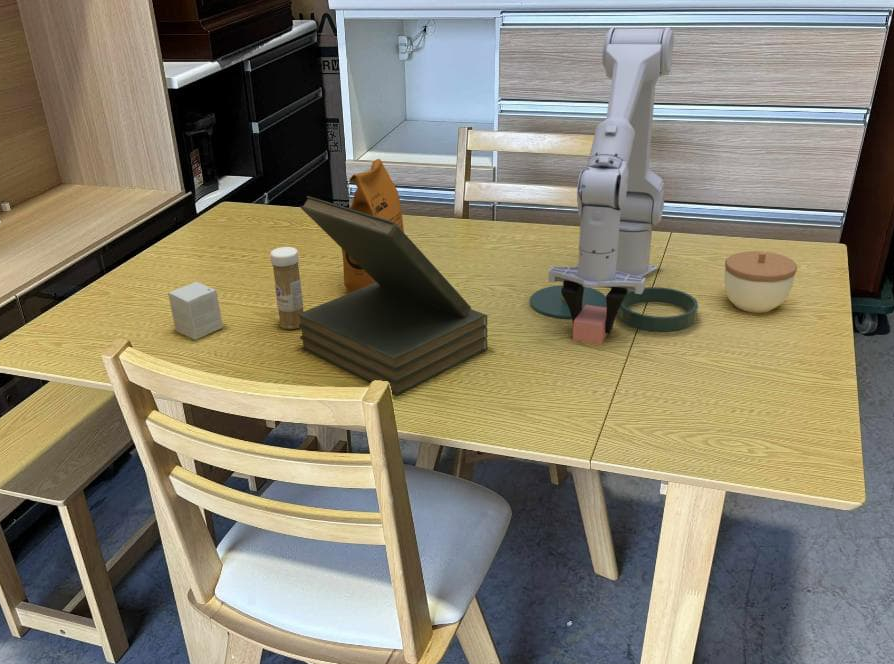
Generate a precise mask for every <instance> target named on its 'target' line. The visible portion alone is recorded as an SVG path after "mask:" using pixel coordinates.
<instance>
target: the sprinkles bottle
mask: <svg viewBox="0 0 894 664" xmlns="http://www.w3.org/2000/svg"><path fill="white" fill-rule="evenodd" d="M299 260H300V258H299V251H298V249H296V248H295V247H291V246H281V247H277V248H274V249H273V250H271V251H270V263H271V266H272V268H273V269H272V270H273V277H274V278H273V279H274V289H275V294H276V295H275V296H276V305H277V309H278V310H277V311H278V318H279V322H278V323H279V327H281V328H282V329H284V330H296V329H297V330H298V329H300V328H299V324H301V321H300V317H299V316H298V314H299V313H302V312H304V300H303V291H302V282H301V275H300V267H299Z"/></svg>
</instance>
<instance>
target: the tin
mask: <svg viewBox="0 0 894 664" xmlns="http://www.w3.org/2000/svg"><path fill="white" fill-rule="evenodd" d="M641 303H643V304H644V303H662V304H663V303H664V304H671V305H674V306H677V307H680V308H682V309H684V310H686V311H687V312H685V313H681V314H678V315H670V316H655V315H648V314H643V313H639V312H636V311H634V310H631V309H630V308H628V307H630V306H634V305H636V304H641ZM698 310H699V304H698V300H697V299H696V298H695V297H694V296H693V295H690V294H688V293H687V292H685V291H681V290H678V289H674V288H669V287H661V286H648V287H647V286H646V287H645V289H644V291H643V293H642V294H635V292H633V291H628V293H627V294H626V296H625V298H624V300H623V302H622V303H621V305H620V308H619V310H618V312H617V318H619V320H620V321H621V323H623V324H625V325H627V326H628V327H630V328H633V329H636V330H639V331H644V332H651V333H672V332H679V331H682V330H685V329H688V328H690V327H692V326H693V325H694V324H695V323H696V320H697V318H698Z"/></svg>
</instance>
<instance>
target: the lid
mask: <svg viewBox="0 0 894 664" xmlns="http://www.w3.org/2000/svg"><path fill="white" fill-rule="evenodd" d="M563 285H564V282H562V284H561V285H559V284H558V285H552V286H547V287H543V288H540V289H538V290H536V291H535V292H534V293H532V295H531V296H530V299H529V304H530V306H531V308H532V309H533V310H534V311H536V312H537V313H539V314H541V315H543V316H547V317H550V318H555V319H563V320H564V319H566V320H572V317H571V313H570V310H569V307H568V305H567V303H566V301H565V299H564V297H563V295H562V293H561V289H562V288H563ZM585 305H591V306H598V307H605V308H607V305H606V295H605V293H603V292H602V291H599V290H597V289H596V288H586V287H584V292H583V300H582V309H583V308H584V306H585Z"/></svg>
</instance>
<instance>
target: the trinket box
mask: <svg viewBox="0 0 894 664" xmlns="http://www.w3.org/2000/svg"><path fill="white" fill-rule="evenodd" d="M724 263H725V265H724V277H723V282H724V283H723V284H724V291H725V295H726V296H727V298H728V300H729V301H730V302H731V303H732V304H733V305H734V306H735V308H737V309H739V310H741V311H744V312H747V313H757V314H761V313H767V312H768V313H769V312H770V311H773V310H774V309H775V308H778V307H779V306H780V305H782V304H783V303H784V301H786V299H788V298H787V297H789V294H790V293H791V291H792V287H793V284H794V281H795V276H796V273H797V269H798V265H797V263H796V261H794V260H793V259H792V258H790V257H788V256H786V255H782V254H779V253H775V252H771V251H760V250H759V251H757V250H754V251H753V250H751V251H749V250H748V251H741V252H737V253H734V254H731V255H729V256H728V257H727V258H726V259H725V262H724Z"/></svg>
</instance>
